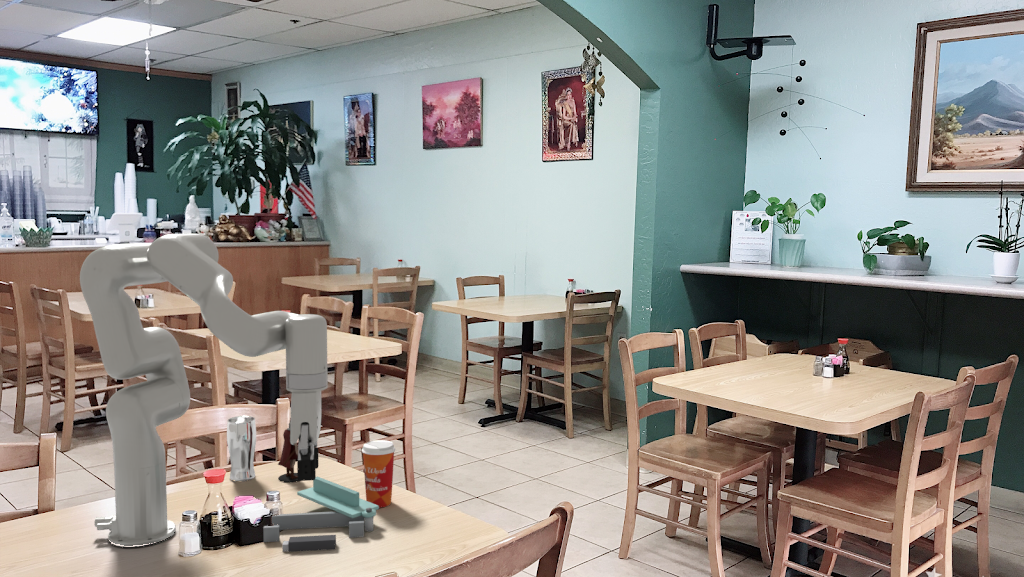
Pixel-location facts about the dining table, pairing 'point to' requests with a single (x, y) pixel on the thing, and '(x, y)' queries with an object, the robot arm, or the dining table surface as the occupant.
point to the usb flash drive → (310, 543)
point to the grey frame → (316, 523)
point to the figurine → (289, 458)
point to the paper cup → (378, 471)
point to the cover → (338, 498)
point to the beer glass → (241, 447)
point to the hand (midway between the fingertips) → (308, 473)
